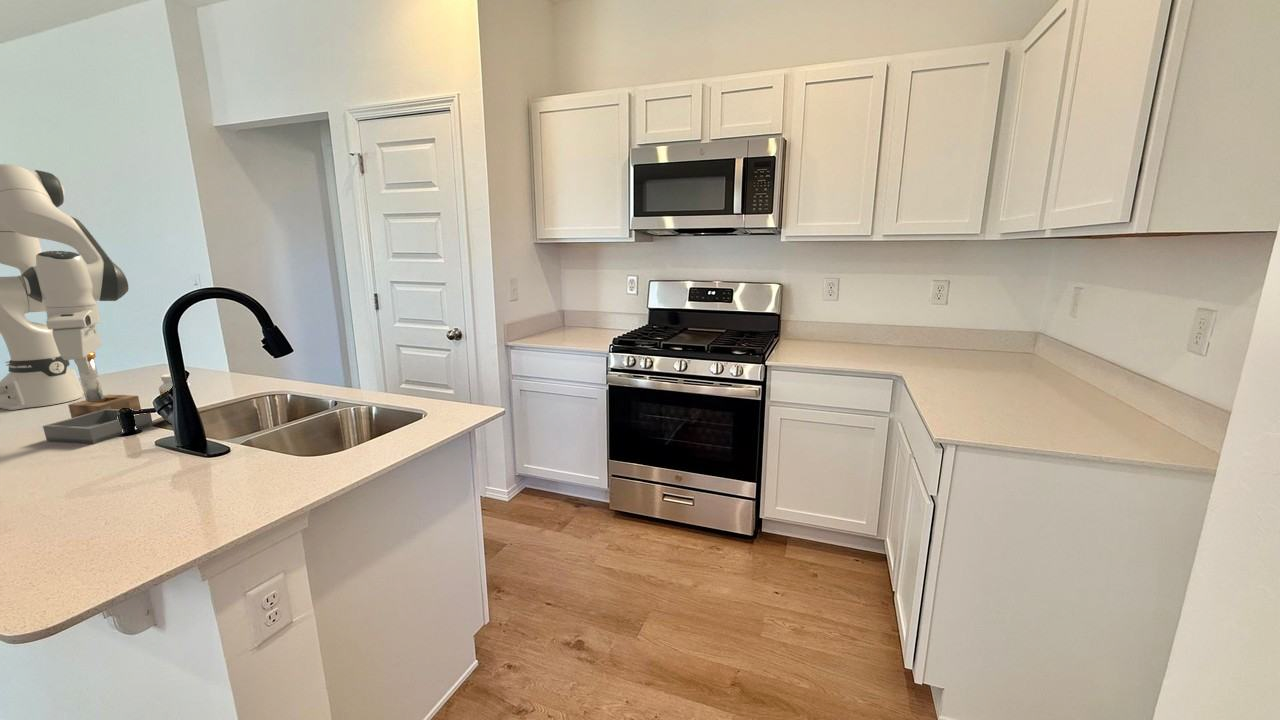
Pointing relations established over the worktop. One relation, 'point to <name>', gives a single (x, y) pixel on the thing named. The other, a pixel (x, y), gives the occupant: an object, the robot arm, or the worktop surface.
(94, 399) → the corked glass vial
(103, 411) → the tray
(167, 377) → the supplement bottle
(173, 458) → the worktop surface
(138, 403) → the socket block
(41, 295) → the robot arm
